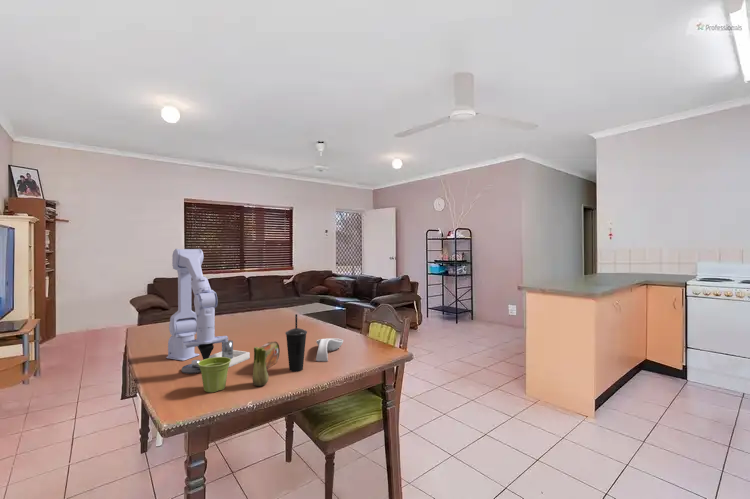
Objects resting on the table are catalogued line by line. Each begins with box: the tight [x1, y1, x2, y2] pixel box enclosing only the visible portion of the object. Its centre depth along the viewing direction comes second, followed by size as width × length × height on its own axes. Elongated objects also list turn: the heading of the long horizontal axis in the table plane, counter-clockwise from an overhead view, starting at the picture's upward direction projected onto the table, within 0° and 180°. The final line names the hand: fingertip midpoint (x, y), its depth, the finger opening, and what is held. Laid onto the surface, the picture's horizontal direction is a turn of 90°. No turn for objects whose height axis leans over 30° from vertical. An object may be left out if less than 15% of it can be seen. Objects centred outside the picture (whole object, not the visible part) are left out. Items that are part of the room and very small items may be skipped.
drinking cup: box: [284, 314, 308, 373], centre depth 127 cm, size 8×8×20 cm
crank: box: [191, 357, 213, 367], centre depth 126 cm, size 10×3×4 cm, turn 69°
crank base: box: [181, 363, 201, 375], centre depth 127 cm, size 9×9×1 cm
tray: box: [209, 349, 251, 369], centre depth 136 cm, size 11×12×2 cm
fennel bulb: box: [252, 346, 269, 387], centre depth 113 cm, size 6×5×12 cm
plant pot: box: [198, 357, 231, 393], centre depth 110 cm, size 9×9×9 cm
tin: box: [258, 341, 281, 370], centre depth 131 cm, size 15×3×8 cm, turn 168°
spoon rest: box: [315, 337, 344, 362], centre depth 148 cm, size 24×12×7 cm, turn 178°
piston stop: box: [221, 339, 234, 359], centre depth 136 cm, size 4×4×7 cm
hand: (205, 365), depth 123 cm, fingers closed
